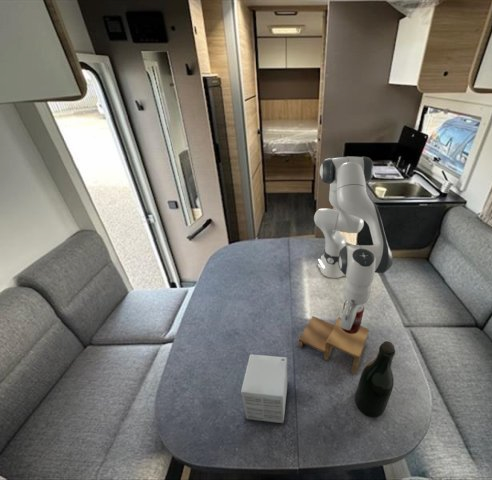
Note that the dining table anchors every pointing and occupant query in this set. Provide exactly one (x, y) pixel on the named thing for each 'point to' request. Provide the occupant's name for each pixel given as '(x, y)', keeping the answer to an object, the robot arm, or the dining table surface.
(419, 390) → the dining table surface
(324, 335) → the step shelf
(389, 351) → the dark green wine bottle
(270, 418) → the supplement box
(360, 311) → the soda can
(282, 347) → the dining table surface
